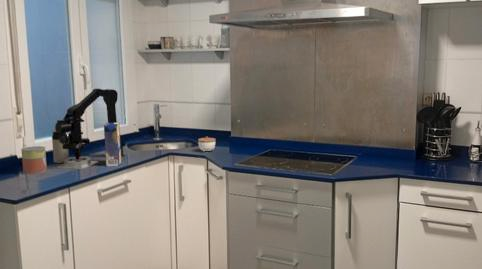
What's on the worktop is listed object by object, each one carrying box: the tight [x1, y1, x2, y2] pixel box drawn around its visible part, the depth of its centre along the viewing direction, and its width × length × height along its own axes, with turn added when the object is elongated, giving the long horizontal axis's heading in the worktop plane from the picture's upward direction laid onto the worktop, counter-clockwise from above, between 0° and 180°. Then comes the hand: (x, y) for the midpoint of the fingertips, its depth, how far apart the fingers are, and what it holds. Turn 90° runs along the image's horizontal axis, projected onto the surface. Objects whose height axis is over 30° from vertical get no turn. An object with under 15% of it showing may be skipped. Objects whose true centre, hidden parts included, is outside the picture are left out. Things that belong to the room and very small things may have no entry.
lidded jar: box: [197, 136, 216, 152], centre depth 285 cm, size 11×11×9 cm
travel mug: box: [51, 129, 70, 164], centre depth 258 cm, size 8×8×18 cm
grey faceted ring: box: [56, 156, 99, 170], centre depth 251 cm, size 16×16×3 cm
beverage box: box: [103, 122, 122, 167], centre depth 252 cm, size 7×11×22 cm, turn 9°
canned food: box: [20, 145, 48, 175], centre depth 237 cm, size 11×11×12 cm
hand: (77, 159), depth 250 cm, fingers closed
